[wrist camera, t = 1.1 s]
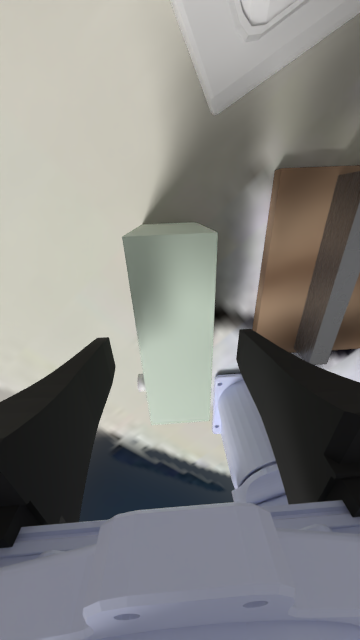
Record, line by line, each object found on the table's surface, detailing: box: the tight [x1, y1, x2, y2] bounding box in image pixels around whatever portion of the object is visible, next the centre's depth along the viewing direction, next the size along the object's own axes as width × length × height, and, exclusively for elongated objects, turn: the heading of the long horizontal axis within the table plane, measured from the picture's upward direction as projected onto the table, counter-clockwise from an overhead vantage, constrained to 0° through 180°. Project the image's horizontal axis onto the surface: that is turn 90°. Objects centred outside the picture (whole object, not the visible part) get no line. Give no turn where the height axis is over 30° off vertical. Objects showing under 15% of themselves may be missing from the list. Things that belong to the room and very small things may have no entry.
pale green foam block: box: [122, 222, 218, 425], centre depth 15 cm, size 5×12×8 cm, turn 2°
